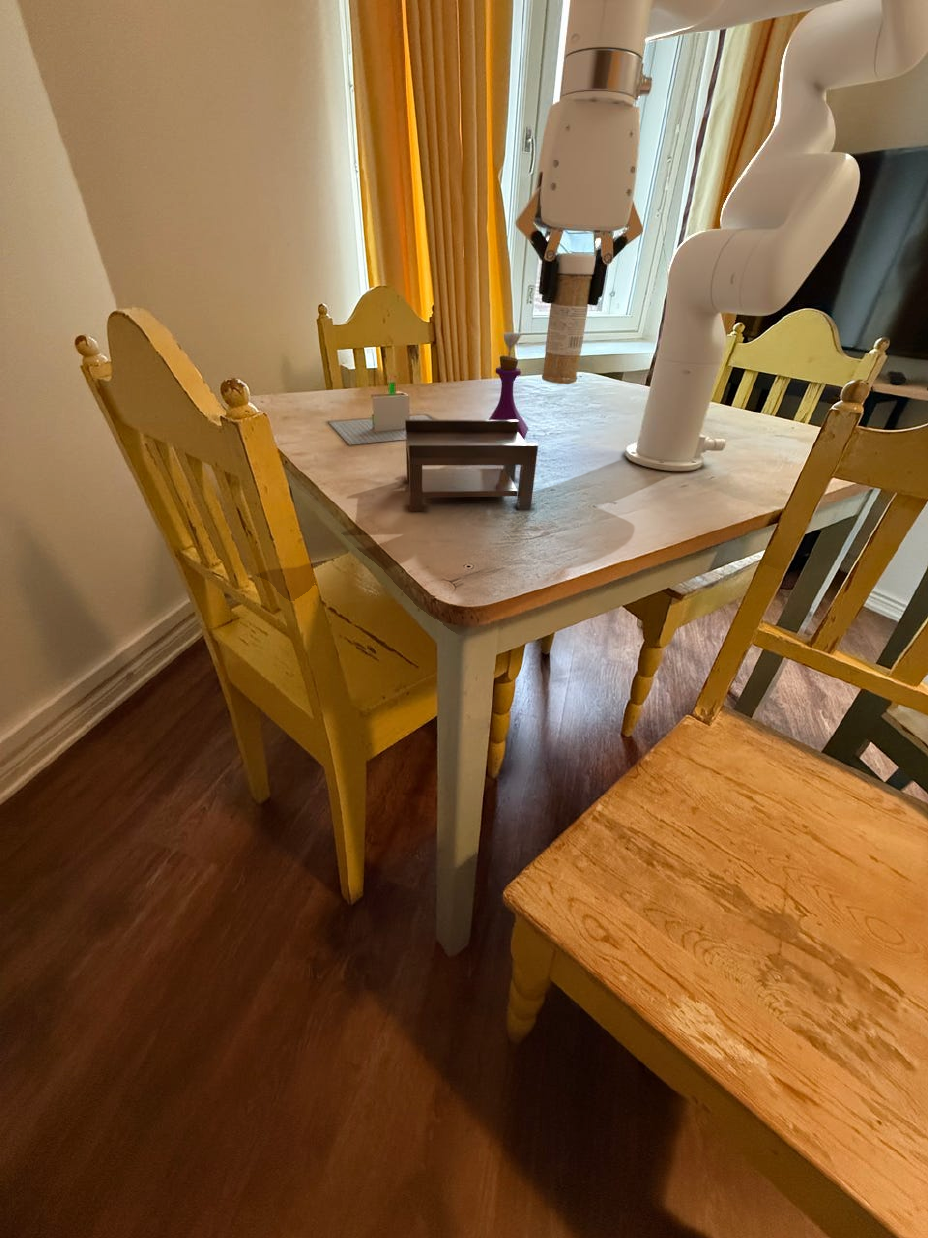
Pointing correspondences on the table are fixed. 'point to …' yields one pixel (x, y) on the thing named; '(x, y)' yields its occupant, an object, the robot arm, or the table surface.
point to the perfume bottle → (509, 386)
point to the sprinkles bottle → (568, 317)
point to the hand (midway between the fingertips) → (569, 301)
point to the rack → (468, 460)
